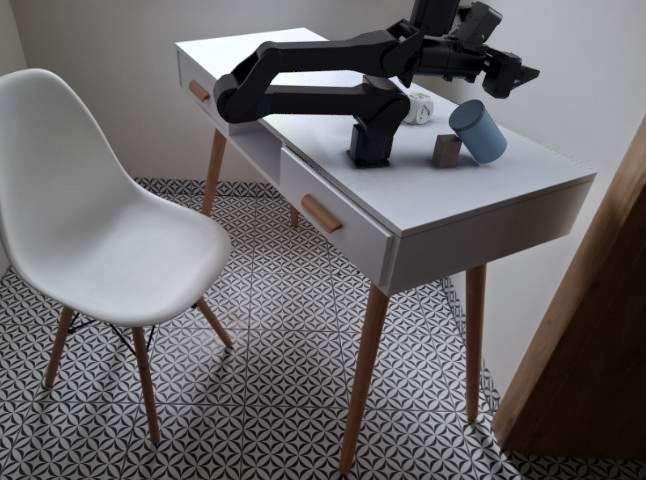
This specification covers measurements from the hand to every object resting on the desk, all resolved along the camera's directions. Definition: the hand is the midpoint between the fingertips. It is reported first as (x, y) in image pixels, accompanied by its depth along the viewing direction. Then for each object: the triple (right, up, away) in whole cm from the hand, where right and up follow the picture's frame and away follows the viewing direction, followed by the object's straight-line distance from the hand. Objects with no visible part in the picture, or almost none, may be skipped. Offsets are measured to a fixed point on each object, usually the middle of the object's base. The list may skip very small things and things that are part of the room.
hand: (522, 65), depth 87 cm
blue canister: (-7, -15, +7) cm, 18 cm away
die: (-13, -3, +21) cm, 25 cm away
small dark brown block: (-12, -15, +6) cm, 20 cm away
